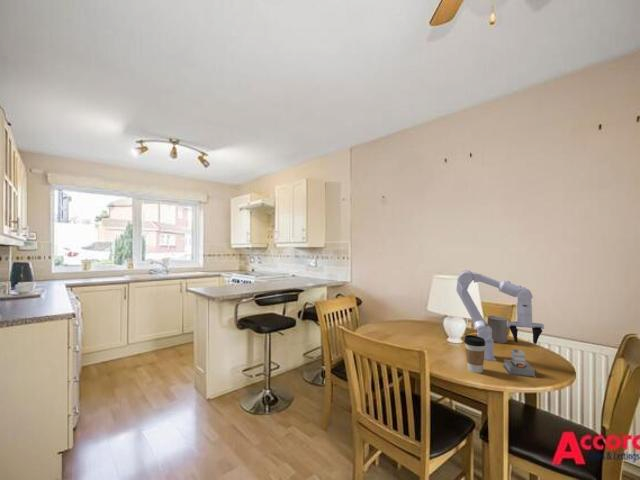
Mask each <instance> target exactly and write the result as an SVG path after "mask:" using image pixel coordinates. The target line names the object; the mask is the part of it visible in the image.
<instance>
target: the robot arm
mask: <svg viewBox="0 0 640 480" xmlns="http://www.w3.org/2000/svg"><path fill="white" fill-rule="evenodd" d="M456 280H457V282H456V293H457V295H458V296H459V298H460V300H461V302H462V304H463V305H464V307H465V309H466V311H467V312H468V315H469V316H470V318H471V321H472V322H473V324H474V327H475V329H476V332H477V333H476V335H477V336H478V337H481V338H483V339H484V340H485V346H484V349H485V351H484V361H492V362H496V361H497V359H496V357H495V356H494V355H495V354H494V353H495V351H494V348H495V347H494V345H495V342H493V339H492V328H491V327H490V326H489V325H488V322H486V321H485V319H484V317H483V316H482V314H481V312H480V311H479V309H478V307H477V305H476V303H475V302H474V300H473V298H472V296H471V295H470V293H469V291H468V289H469V287H470V284H471V283H472V282H473V283H483V284H485V285H489V286H491V287H495V288H497V289H498V291H499V292H500V293H503V294H505V295H507V296H511V297H513V298H517V303H516V315H517V317H516V318H517V321H507V328H509V330H510V332H511V335H512V337H513V341H514V343H518V342H519V341H518V339H519V338H518V331H519V328H530V329H531V330H532V342H533V344H534V345H537V343H538V340H539V337H540V336H541V334H542V333H543V330H544V329H545V324H543V323H539V322H533V304H532V299H533V293H532V292H531V290H529V289H528V288H526V287H524V286H523V287H522V285H518V284H515V283H512V282H511V281H510V280H507V281H506V280H503V281H499V280H496V279H494V278H491V277H489V276H486V275H484V274H482V273H478V272H476V271H470V270H467V269H466V270H464V271H462V272H460V274H459V276H458V277H457V279H456Z"/></svg>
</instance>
